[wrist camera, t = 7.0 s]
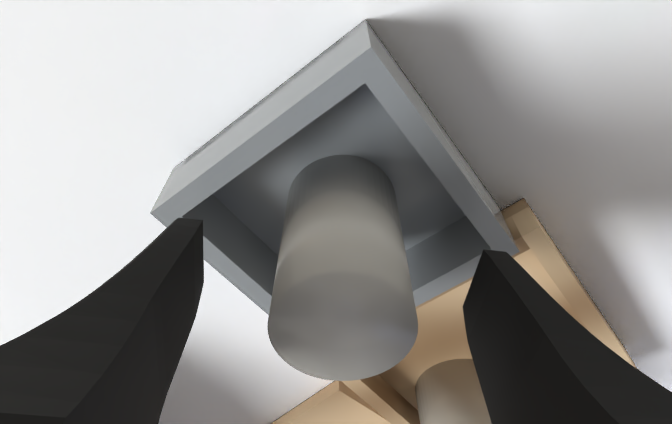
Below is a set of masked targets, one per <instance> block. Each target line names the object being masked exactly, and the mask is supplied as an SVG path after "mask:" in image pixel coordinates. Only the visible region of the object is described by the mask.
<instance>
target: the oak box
mask: <svg viewBox="0 0 672 424" xmlns="http://www.w3.org/2000/svg"><path fill="white" fill-rule="evenodd" d="M501 213H502V215H503V217H504V220H505V222H506V224H507V226H508V228H509V230H510V232H511V234H512V236H513V238H514V241H515V243H516V245H517V247H518V249H519V251H520V252H518V253H517V254H515V255H513V256H511V257H512V258H514V259H515V260H516V261H517V262H518V263H519V264H520V265H521V266H522V267H523V268H524V269H525V270H526V271H527V272H528V273H529V274H530V276H531V277H532V278H533V279H534V280H535V281H536V282H537V283H538V284H539V285H540V286H541V287H542V288H543V289H544V290H545V291H546V292H547V293H548V294H549V295H550V296H551V297H552V298H553V299H554V300H555V301H556V302H557V303H559V304H560V305H561V306H562V307H563V308H564V309H565V310H566V311H567V312H568V313H569V314H570V315H571V316H572V317H573V318H574V319H576V320H577V321H578V322H579V323H580V324H581V325H582V326H583V327H585V328H586V329H587V330H588V331H589V332H590V333H591V334H593V335H594V336H595V337H596V338H597V339H599V340H600V341H601V342H602V343H603V344H605V345H606V346H607V347H608V348H610V349H611V350H612V351H614V352H615V353H616V354H618V355H619V356H620V357H621V358H623V359H624V360H625V361H627V362H628V363H629V364H631V365H632V366H634V367H635V368H636V366H635V364H634V363H633V361H632V359H631V358H630V356H629V354H628V353H627V351H626V349H625V348H624V346H623V345H622V343H621V342H620V340H619V339H618V337H617V336H616V334H615V333H614V331H613V330H612V329H611V327H610V326H609V324H608V323H607V321H606V320H605V318H604V317H603V315H602V314H601V312H600V311H599V309H598V308H597V306H596V305H595V303H594V302H593V300H592V299H591V297H590V296H589V294H588V293H587V291H586V290H585V288H584V287H583V285H582V284H581V282H580V281H579V279H578V278H577V276H576V275H575V274H574V272H573V271H572V269H571V268H570V266H569V265H568V263H567V262H566V260H565V259H564V257H563V256H562V254H561V253H560V251H559V250H558V248H557V247H556V245H555V244H554V242H553V241H552V239H551V238H550V236H549V235H548V233H547V232H546V230H545V229H544V227H543V226H542V224H541V223H540V221H539V220H538V219H537V217H536V216H535V214H534V213H533V211H532V210H531V208H530V207H529V205H528V204H527V202H526V201H525V199H524V198H523V199H521V200H520V201H518V202H516V203H514V204H513V205H511V206H509V207H507V208H505V209H504V210H502V211H501ZM472 279H473V277H471V278H469V279H467V280H466V281H464V282H462V283H460V284H458V285H456V286H454V287H452V288H450V289H449V290H447V291H445V292H443V293H441V294H439V295H437V296H435V297H433V298H432V299H430V300H428V301H426V302H424V303H422V304H420V305H418V306H417V307H416V313H417V319H418V333H417V338H416V341H415V343H414V345H413V347H412V349H411V350H410V352H409V353H408V354H407V355H406V357H405V358H404V359H403V360H401V361H400V362H399V363H398V364H397V365H395V366H394V367H392V368H391V369H389V370H387V371H385V372H383V373H380V374H378V375H375V376H372V377H369V378H365V379H360V380H352V381H342V382H343V383H344V384H345V385H346V386H347V387H349V388H350V389H351V390H352V391H353V392H355V393H356V394H357V395H358V396H359V397H360V398H362V399H363V400H364V401H365V402H366V403H367V404H369V405H370V406H371V407H372V408H373V409H374V410H376V411H377V412H378V413H379V414H380V415H381V416H383V417H384V418H385V419H386V420H387V421H388V422H390V423H391V424H420V420H419V413H418V407H417V400H416V394H415V385H416V382H417V380H418V378H419V377H420V376H421V374H422V373H423V372H424V371H426V370H427V369H428V368H430V367H432V366H434V365H436V364H438V363H440V362H444V361H447V360H453V359H471V360H473V359H472V355H471V352H470V348H469V345H468V341H467V335H466V329H465V322H464V314H463V304H464V301H465V299H466V296H467V293H468V290H469V287H470V285H471V282H472ZM636 369H637V368H636Z"/></svg>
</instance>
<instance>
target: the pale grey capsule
mask: <svg viewBox="0 0 672 424" xmlns="http://www.w3.org/2000/svg"><path fill="white" fill-rule="evenodd" d="M417 333H418V319H417V313H416V307H415V302H414V296H413V290H412V285H411V279H410V274H409V268H408V262H407V257H406V251H405V245H404V240H403V234H402V229H401V223H400V217H399V212H398V206H397V200H396V195H395V191H394V187H393V185H392V183H391V181H390V179H389V178H388V176H387V175H386V174H385V173H384V171H383V170H381V169H380V168H379V167H378V166H377V165H375V164H373V163H372V162H370V161H368V160H366V159H363V158H360V157H356V156H352V155H333V156H328V157H324V158H321V159H318V160H316V161H314V162H312V163H311V164H309V165H307V166H306V167H305V168H303V169H302V170H301V171H300V172H299V173H298V175H297V176H296V177H295V179H294V181H293V182H292V184H291V187H290V190H289V194H288V200H287V206H286V212H285V218H284V225H283V231H282V237H281V243H280V249H279V256H278V262H277V268H276V274H275V281H274V287H273V293H272V299H271V305H270V312H269V318H268V334H269V338H270V341H271V344H272V345H273V347H274V349H275V351H276V352H277V353H278V355H279V356H280V357H281V358H282V359H283V360H284V361H285V362H287V363H288V364H289V365H290V366H292V367H294V368H295V369H297V370H299V371H301V372H303V373H305V374H308V375H310V376H313V377H317V378H321V379H326V380H334V381H352V380H360V379H365V378H369V377H372V376H375V375H378V374H380V373H383V372H385V371H387V370H389V369H391V368H392V367H394V366H395V365H397V364H398V363H399V362H400V361H401V360H403V359H404V358H405V357H406V355H407V354H408V353H409V352H410V350H411V349H412V347H413V345H414V343H415V341H416V338H417Z"/></svg>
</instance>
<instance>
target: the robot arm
mask: <svg viewBox="0 0 672 424" xmlns="http://www.w3.org/2000/svg"><path fill="white" fill-rule="evenodd" d="M203 283H204V263H203V220H197V219H188V218H177V219H176V220H174V221H173V222H172V223H171V224H170V225H169V226H168V227H167V228H166V229H165V230H164V231H163V232H162V233H161V234H160V235H159V236H158V237H157V238H156V239H155V240H154V241H153V242H152V243H151V244H150V245H149V246H147V247H146V248H145V249H144V250H143V251H142V252H141V253H140V254H139V255H137V256H136V257H135V258H134V259H133V260H132V261H131V262H130V263H129V264H127V265H126V266H125V267H124V268H123V269H121V270H120V271H119V272H118V273H116V274H115V275H114V276H113V277H111V278H110V279H109V280H108V281H106V282H105V283H104V284H103V285H101V286H100V287H99V288H97V289H96V290H95V291H93V292H92V293H91V294H89V295H88V296H86V297H85V298H84V299H82V300H81V301H79V302H78V303H76V304H75V305H73V306H72V307H70V308H69V309H67V310H65V311H64V312H62V313H61V314H59V315H57V316H55V317H54V318H52V319H50V320H48V321H46V322H45V323H43V324H41V325H39V326H38V327H36V328H34V329H32V330H30V331H29V332H27V333H25V334H23V335H21V336H19V337H17V338H15V339H13V340H11V341H9V342H7V343H5V344H3V345H1V346H0V424H158V422H159V418H160V415H161V411H162V407H163V404H164V401H165V398H166V395H167V392H168V390H169V387H170V384H171V382H172V379H173V376H174V374H175V371H176V368H177V366H178V363H179V360H180V358H181V355H182V352H183V350H184V347H185V344H186V342H187V339H188V336H189V333H190V331H191V328H192V325H193V323H194V320H195V317H196V313H197V309H198V305H199V301H200V296H201V292H202V287H203ZM463 314H464V322H465V329H466V335H467V341H468V345H469V348H470V352H471V355H472V359H473V362H474V366H475V369H476V373H477V376H478V379H479V383H480V386H481V389H482V393H483V396H484V399H485V403H486V406H487V409H488V413H489V416H490V420H491V424H672V392H670V391H669V390H667V389H666V388H664V387H663V386H661V385H660V384H658V383H657V382H655V381H654V380H652V379H651V378H649V377H648V376H646V375H645V374H643V373H642V372H641V371H639V370H638V369H636V368H635V367H634V366H632V365H631V364H629V363H628V362H627V361H625V360H624V359H623V358H621V357H620V356H619V355H618V354H616V353H615V352H614V351H612V350H611V349H610V348H608V347H607V346H606V345H605V344H603V343H602V342H601V341H600V340H599V339H597V338H596V337H595V336H594V335H593V334H591V333H590V332H589V331H588V330H587V329H586V328H585V327H583V326H582V325H581V324H580V323H579V322H578V321H577V320H576V319H574V318H573V317H572V316H571V315H570V314H569V313H568V312H567V311H566V310H565V309H564V308H563V307H562V306H561V305H560V304H559V303H557V302H556V301H555V300H554V299H553V298H552V297H551V296H550V295H549V294H548V293H547V292H546V291H545V290H544V289H543V288H542V287H541V286H540V285H539V284H538V283H537V282H536V281H535V280H534V279H533V278H532V277H531V276H530V274H529V273H528V272H527V271H526V270H525V269H524V268H523V267H522V266H521V265H520V264H519V263H518V262H517V261H516V260H515V259H514V258H512V257H511V256H510V255H509V254H508V253H507V252H504V251H495V250H485V249H483V252H482V254H481V257H480V260H479V263H478V265H477V268H476V271H475V274H474V276H473V279H472V282H471V285H470V287H469V290H468V293H467V296H466V299H465V301H464V304H463Z"/></svg>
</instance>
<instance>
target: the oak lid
mask: <svg viewBox="0 0 672 424" xmlns="http://www.w3.org/2000/svg"><path fill="white" fill-rule="evenodd" d="M271 424H391V423H390V422H388V421H387V420H386V419H385V418H384V417H383V416H381V415H380V414H379V413H378V412H377V411H376V410H374V409H373V408H372V407H371V406H370V405H369V404H367V403H366V402H365V401H364V400H363V399H362V398H360V397H359V396H358V395H357V394H356V393H355V392H353V391H352V390H351V389H350V388H349V387H347V386H346V385H345V384H344V383H343V382H342V381H334V382H333V383H331V384H330V385H328V386H327V387H325V388H324V389H322V390H321V391H319V392H318V393H316V394H315V395H313V396H312V397H310V398H309V399H307V400H306V401H304V402H303V403H301V404H300V405H298V406H297V407H295V408H294V409H292V410H291V411H289V412H288V413H286V414H285V415H283V416H282V417H280V418H279V419H277V420H276V421H274V422H273V423H271Z"/></svg>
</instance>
